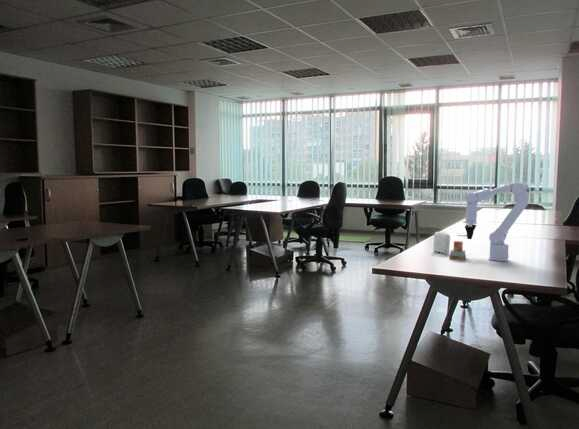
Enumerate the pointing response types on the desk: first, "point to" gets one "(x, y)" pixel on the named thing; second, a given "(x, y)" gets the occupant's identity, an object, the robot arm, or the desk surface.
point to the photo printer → (441, 242)
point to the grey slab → (457, 253)
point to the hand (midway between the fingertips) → (469, 238)
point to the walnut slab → (458, 257)
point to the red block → (458, 245)
